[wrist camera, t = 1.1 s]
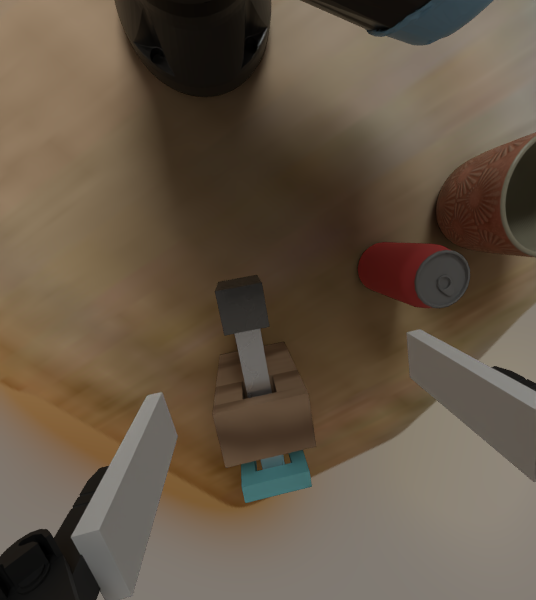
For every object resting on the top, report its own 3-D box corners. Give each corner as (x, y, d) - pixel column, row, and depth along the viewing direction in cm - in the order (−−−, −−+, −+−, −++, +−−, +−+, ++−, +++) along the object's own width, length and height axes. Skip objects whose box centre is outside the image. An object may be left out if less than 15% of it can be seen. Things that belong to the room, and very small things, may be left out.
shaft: (218, 281, 28) (214, 291, 23) (257, 274, 28) (261, 282, 23) (257, 466, 33) (261, 505, 28) (289, 458, 34) (298, 495, 29)
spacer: (240, 437, 34) (241, 487, 27) (294, 425, 35) (309, 471, 28) (243, 451, 35) (245, 503, 28) (296, 438, 35) (311, 486, 28)
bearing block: (219, 354, 37) (212, 414, 25) (284, 341, 38) (308, 393, 26) (228, 393, 39) (225, 467, 26) (290, 380, 40) (316, 446, 27)
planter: (494, 256, 39) (590, 263, 29) (415, 247, 37) (486, 251, 27) (520, 163, 37) (636, 133, 26) (436, 148, 35) (524, 110, 24)
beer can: (371, 299, 38) (431, 327, 27) (346, 262, 37) (398, 274, 25) (409, 270, 38) (487, 285, 26) (386, 231, 36) (457, 229, 25)
